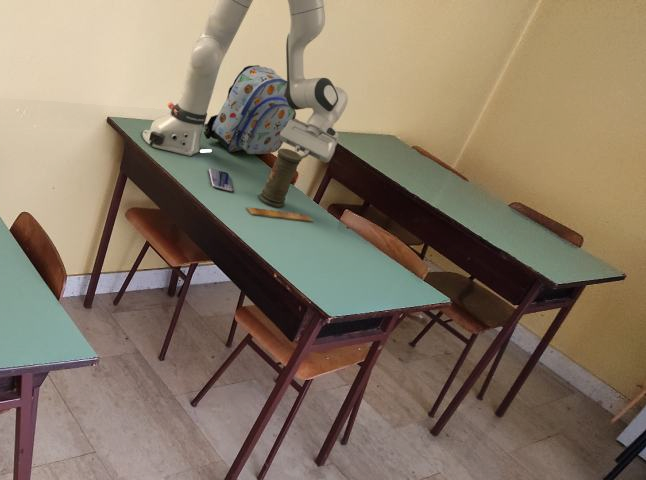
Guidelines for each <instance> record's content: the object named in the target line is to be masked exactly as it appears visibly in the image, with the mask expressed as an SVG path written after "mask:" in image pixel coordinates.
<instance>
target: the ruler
mask: <svg viewBox="0 0 646 480" xmlns="http://www.w3.org/2000/svg"><path fill="white" fill-rule="evenodd" d="M247 210H248V212H249V213H250V214H251V215H252V216H258V217H267V218H275V219H284V220H291V221H292V220H293V221H300V222H307V223H312V222H313V219H312V218H311V217H310V216H309V214H303V213H295V212H287V211H282V210H281V211H280V210H273V209H264V208H257V207H247Z"/></svg>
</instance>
